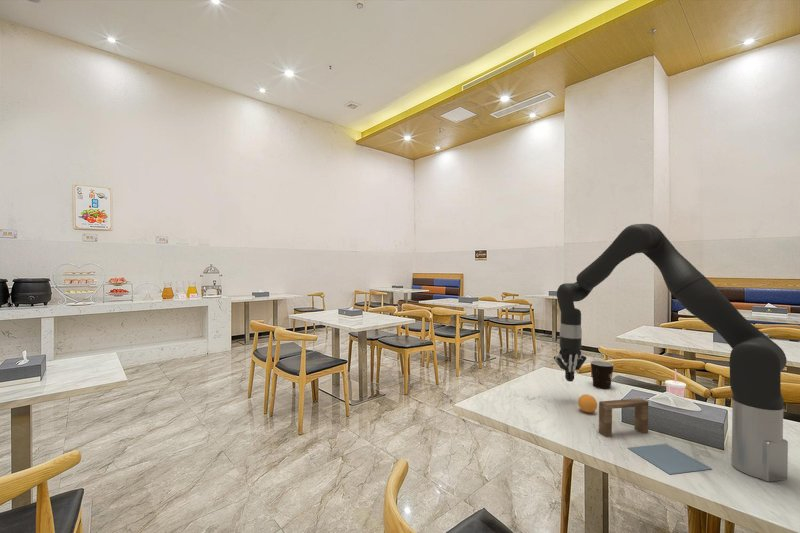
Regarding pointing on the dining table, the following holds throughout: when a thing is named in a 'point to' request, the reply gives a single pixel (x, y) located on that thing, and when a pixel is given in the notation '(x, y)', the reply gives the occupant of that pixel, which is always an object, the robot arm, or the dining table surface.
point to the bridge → (607, 407)
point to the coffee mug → (602, 374)
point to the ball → (587, 403)
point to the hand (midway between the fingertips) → (569, 380)
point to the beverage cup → (675, 386)
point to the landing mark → (669, 459)
